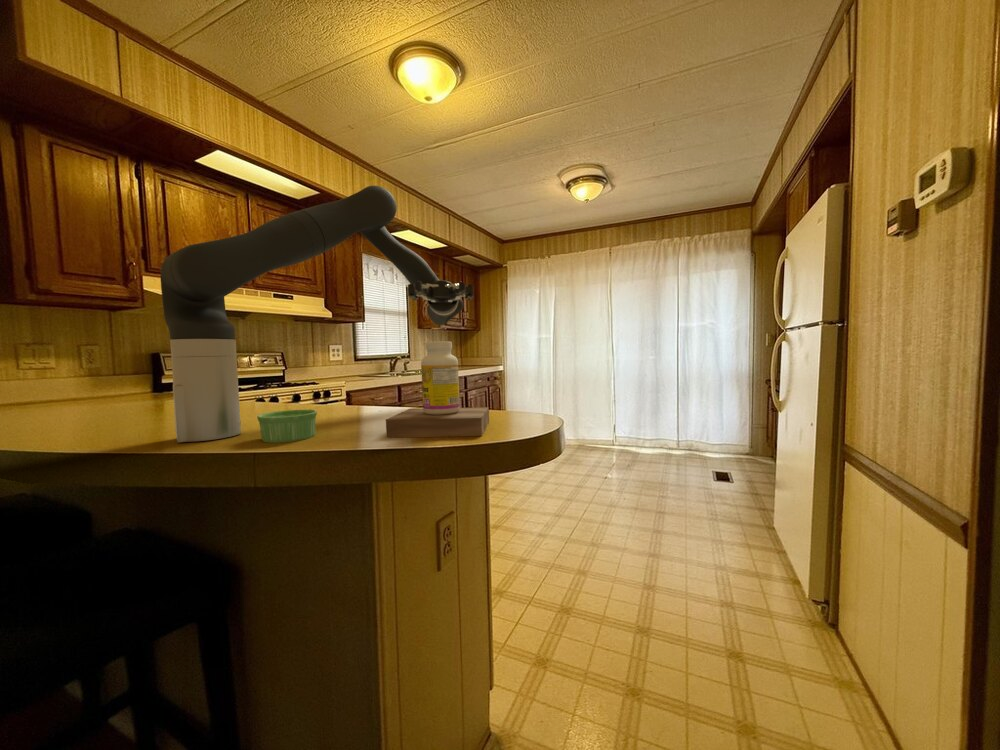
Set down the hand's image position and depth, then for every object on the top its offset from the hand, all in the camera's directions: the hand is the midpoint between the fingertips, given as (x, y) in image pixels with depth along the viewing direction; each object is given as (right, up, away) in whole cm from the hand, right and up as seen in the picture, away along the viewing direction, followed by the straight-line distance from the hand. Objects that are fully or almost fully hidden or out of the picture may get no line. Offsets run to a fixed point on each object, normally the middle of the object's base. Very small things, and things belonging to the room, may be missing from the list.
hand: (440, 286), depth 81 cm
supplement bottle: (+2, -25, -10) cm, 27 cm away
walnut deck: (+2, -28, -10) cm, 30 cm away
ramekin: (-24, -30, -13) cm, 40 cm away
